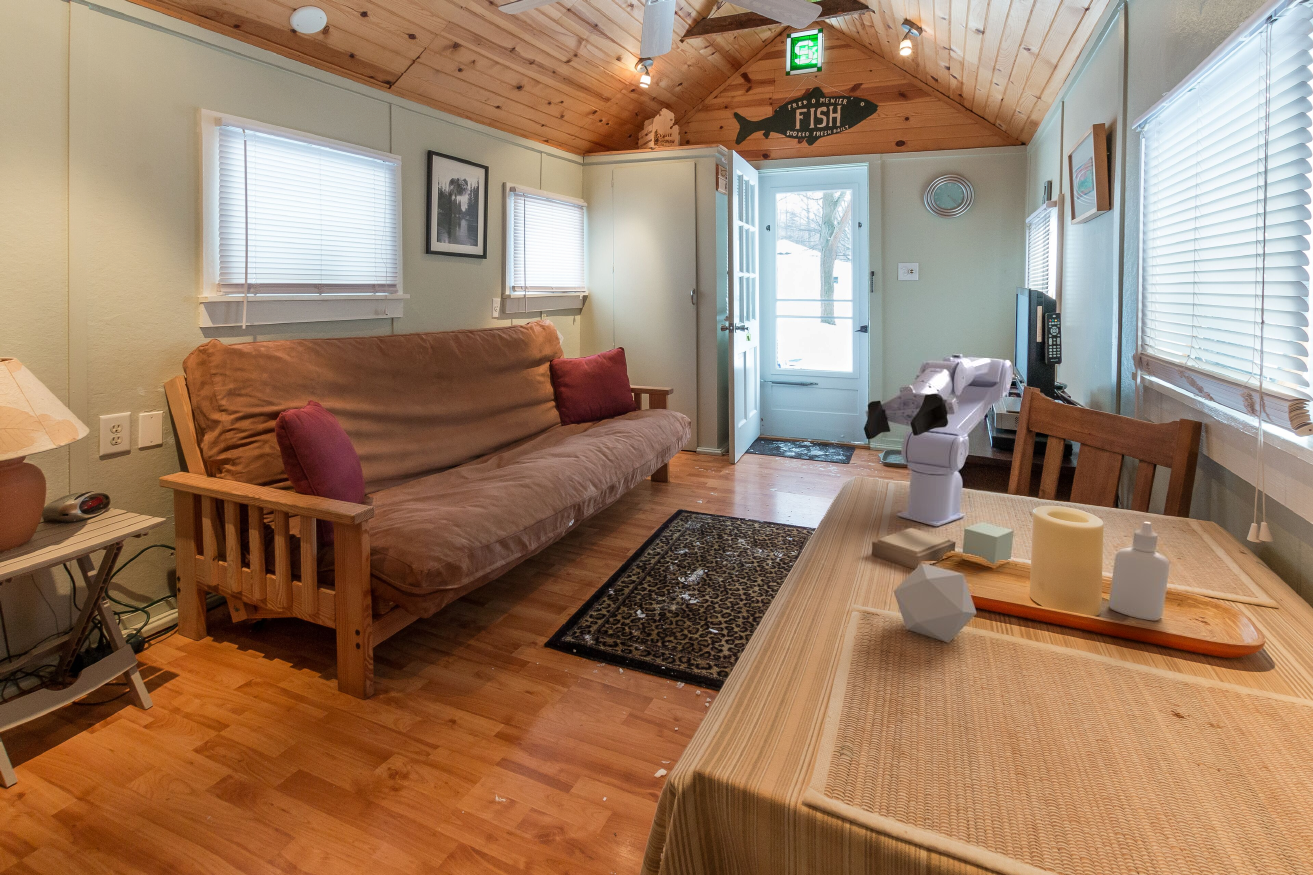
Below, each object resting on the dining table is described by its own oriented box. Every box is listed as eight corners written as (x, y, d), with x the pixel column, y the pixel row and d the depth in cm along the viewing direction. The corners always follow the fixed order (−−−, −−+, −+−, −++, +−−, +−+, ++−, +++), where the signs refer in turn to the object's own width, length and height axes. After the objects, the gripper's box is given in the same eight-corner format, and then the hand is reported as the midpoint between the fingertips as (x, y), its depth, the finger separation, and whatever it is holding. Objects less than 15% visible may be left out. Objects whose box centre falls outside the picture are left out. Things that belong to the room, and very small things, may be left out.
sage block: (978, 552, 112) (981, 522, 112) (1010, 561, 109) (1013, 530, 108) (961, 559, 109) (964, 528, 108) (993, 569, 106) (997, 537, 105)
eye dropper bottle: (1128, 601, 94) (1140, 514, 92) (1168, 620, 89) (1182, 527, 87) (1101, 605, 93) (1113, 517, 91) (1141, 624, 88) (1155, 531, 85)
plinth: (908, 541, 117) (909, 526, 117) (954, 555, 111) (955, 539, 110) (871, 554, 111) (872, 539, 111) (917, 570, 105) (919, 553, 104)
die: (984, 638, 86) (956, 560, 90) (986, 631, 78) (955, 547, 82) (915, 653, 88) (890, 576, 92) (910, 648, 81) (884, 565, 85)
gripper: (875, 381, 123) (840, 412, 114) (960, 369, 113) (929, 402, 104) (886, 418, 125) (852, 452, 116) (971, 410, 115) (941, 446, 106)
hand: (890, 431), depth 110 cm, fingers open, 7 cm apart
